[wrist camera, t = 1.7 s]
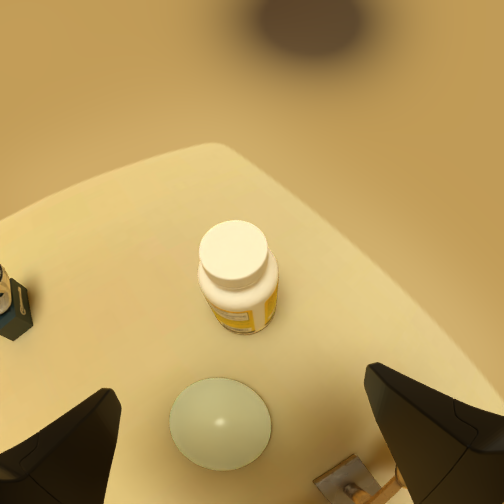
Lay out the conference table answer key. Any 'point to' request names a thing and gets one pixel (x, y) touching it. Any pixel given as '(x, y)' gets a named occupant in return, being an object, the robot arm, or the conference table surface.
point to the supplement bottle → (238, 276)
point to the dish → (220, 424)
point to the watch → (13, 307)
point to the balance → (356, 484)
